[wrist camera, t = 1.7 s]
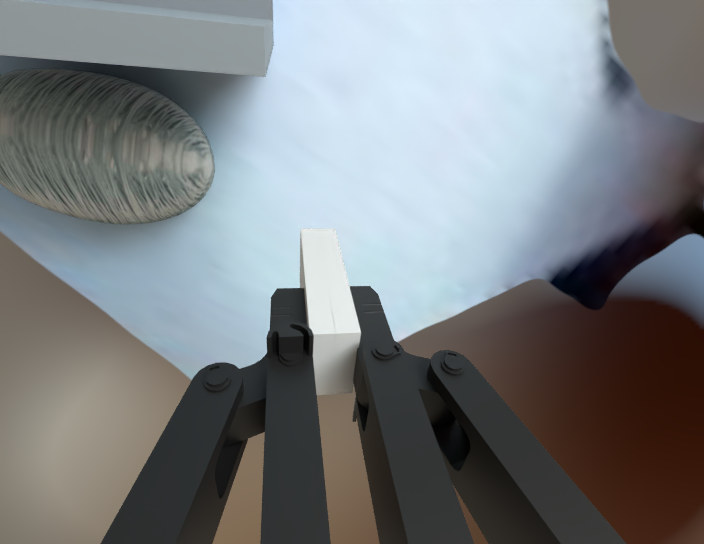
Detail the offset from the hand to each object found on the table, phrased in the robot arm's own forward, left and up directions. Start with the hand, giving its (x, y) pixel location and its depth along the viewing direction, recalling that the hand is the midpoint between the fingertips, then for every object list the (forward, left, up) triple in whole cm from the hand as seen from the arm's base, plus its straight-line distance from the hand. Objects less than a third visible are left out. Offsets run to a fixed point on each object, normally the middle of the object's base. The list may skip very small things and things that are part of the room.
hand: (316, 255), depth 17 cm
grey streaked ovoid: (0, -13, -17) cm, 22 cm away
